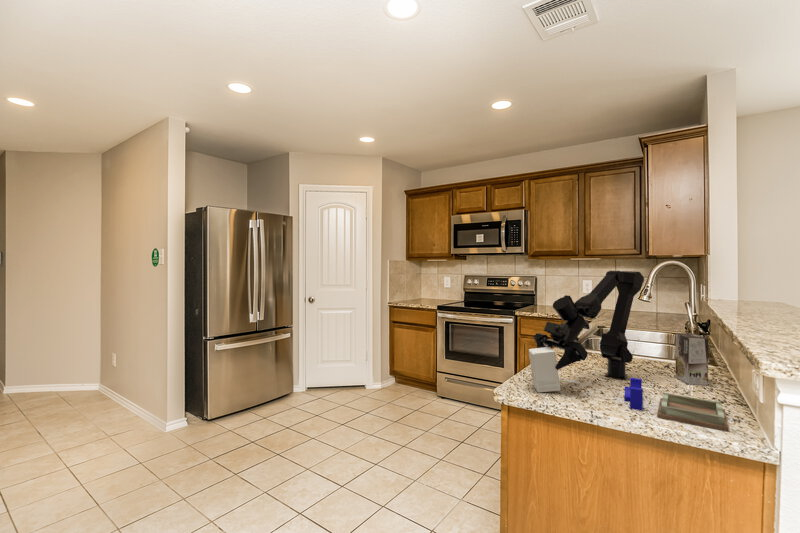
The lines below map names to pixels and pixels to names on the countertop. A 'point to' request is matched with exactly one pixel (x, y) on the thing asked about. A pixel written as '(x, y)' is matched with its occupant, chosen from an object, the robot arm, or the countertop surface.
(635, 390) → the cable clip
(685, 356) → the coffee box
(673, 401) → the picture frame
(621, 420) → the countertop surface
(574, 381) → the countertop surface
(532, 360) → the supplement box
